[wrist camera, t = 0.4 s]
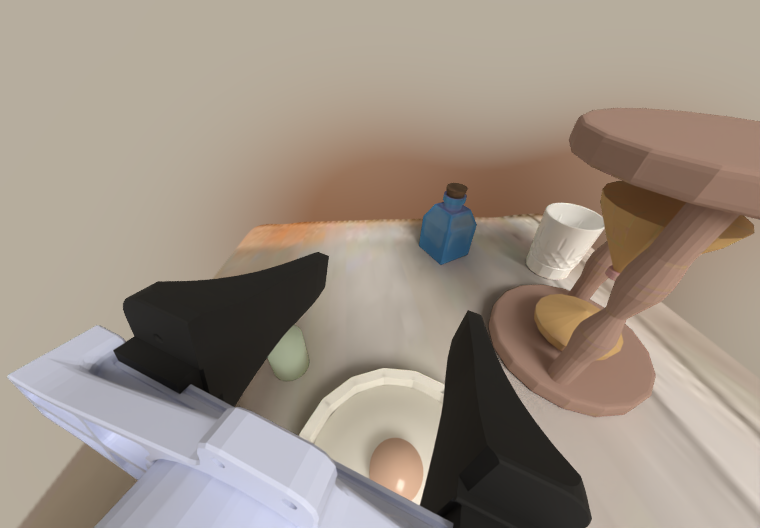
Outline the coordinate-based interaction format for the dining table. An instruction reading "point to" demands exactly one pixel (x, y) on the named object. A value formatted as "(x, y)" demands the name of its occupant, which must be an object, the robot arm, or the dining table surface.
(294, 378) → the pale green rounded block
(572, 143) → the hourglass
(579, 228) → the white cup
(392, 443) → the groove tray
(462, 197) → the perfume bottle
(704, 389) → the dining table surface
